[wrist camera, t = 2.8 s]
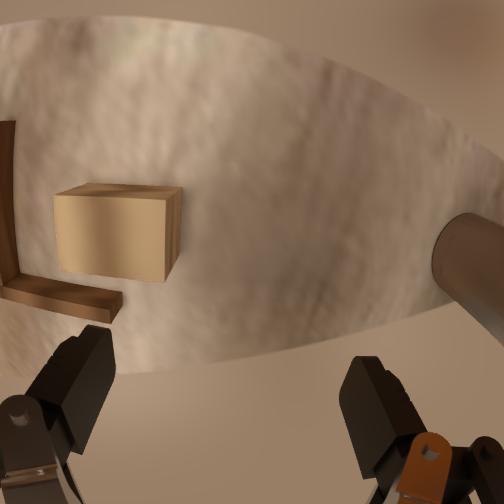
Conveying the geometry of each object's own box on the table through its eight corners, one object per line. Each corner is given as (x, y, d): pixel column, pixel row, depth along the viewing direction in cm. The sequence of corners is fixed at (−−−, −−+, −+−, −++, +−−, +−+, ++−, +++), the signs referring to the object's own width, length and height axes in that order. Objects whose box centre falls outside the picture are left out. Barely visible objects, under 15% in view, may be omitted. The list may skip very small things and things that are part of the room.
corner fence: (128, 115, 23) (113, 112, 20) (122, 305, 29) (110, 324, 26) (6, 121, 22) (-16, 122, 19) (13, 283, 28) (-4, 296, 25)
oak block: (182, 187, 26) (165, 200, 20) (179, 253, 28) (164, 282, 22) (87, 183, 25) (53, 195, 19) (89, 245, 27) (59, 270, 21)
